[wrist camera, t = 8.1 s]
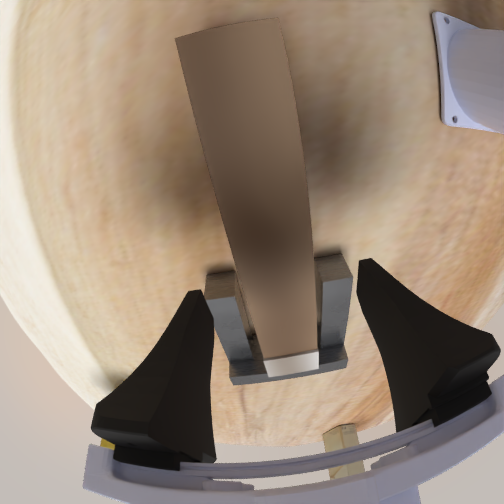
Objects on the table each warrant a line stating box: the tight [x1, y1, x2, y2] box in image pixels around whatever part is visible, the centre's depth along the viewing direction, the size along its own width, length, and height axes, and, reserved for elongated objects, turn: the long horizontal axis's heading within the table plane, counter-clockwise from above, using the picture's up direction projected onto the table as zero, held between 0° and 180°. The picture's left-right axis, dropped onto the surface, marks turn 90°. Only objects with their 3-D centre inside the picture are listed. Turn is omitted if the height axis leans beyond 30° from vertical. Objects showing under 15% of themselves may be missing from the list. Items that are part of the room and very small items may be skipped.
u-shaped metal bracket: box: [204, 254, 353, 385], centre depth 20 cm, size 10×9×4 cm
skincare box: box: [323, 424, 365, 480], centre depth 40 cm, size 6×4×12 cm
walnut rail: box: [175, 18, 319, 377], centre depth 14 cm, size 4×20×5 cm, turn 11°
